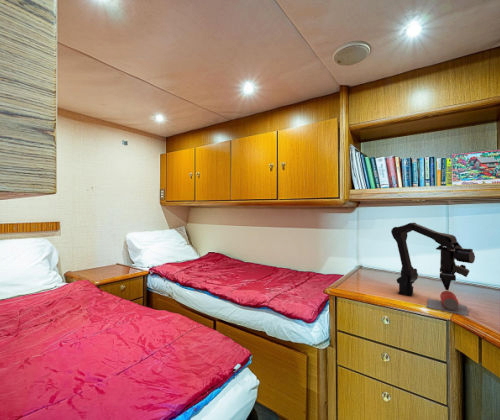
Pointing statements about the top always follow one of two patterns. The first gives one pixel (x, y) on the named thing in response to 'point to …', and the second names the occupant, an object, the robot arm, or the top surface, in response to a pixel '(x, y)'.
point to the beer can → (449, 300)
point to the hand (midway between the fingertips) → (447, 289)
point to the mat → (439, 306)
